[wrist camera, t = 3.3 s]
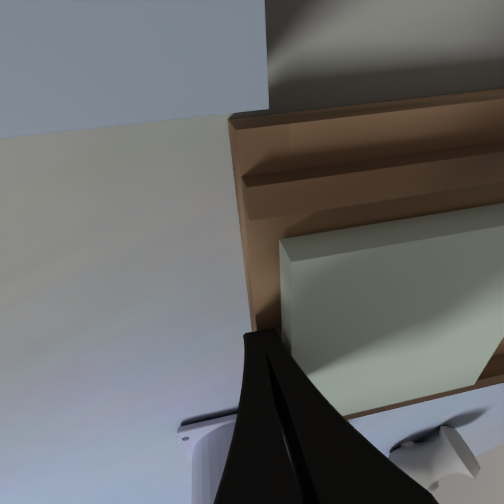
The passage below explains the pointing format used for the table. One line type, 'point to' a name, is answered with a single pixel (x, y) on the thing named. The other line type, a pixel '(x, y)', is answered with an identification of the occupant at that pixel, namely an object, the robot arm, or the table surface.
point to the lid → (395, 306)
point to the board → (362, 181)
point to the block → (128, 62)
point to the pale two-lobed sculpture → (436, 458)
